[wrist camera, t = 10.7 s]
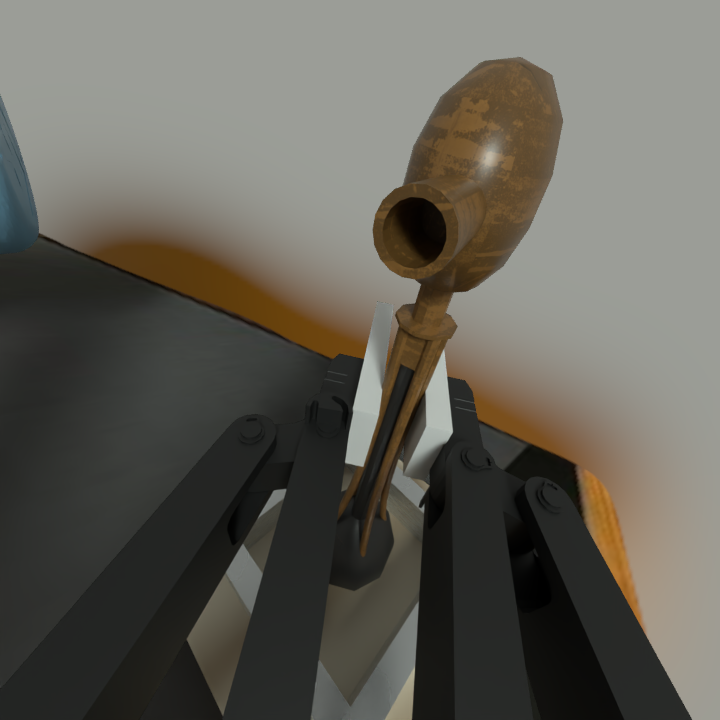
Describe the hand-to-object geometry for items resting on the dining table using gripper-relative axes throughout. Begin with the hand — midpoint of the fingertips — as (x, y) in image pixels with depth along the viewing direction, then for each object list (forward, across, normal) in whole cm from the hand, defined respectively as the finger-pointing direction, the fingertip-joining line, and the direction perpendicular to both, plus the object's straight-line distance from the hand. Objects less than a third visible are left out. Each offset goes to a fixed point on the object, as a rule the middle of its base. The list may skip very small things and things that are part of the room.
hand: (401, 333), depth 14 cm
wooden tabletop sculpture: (-6, 0, -11) cm, 13 cm away
